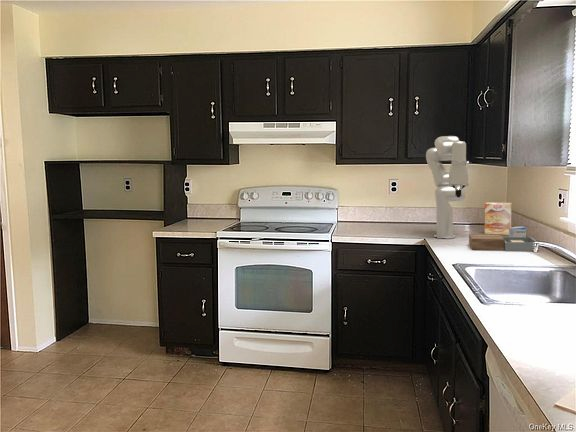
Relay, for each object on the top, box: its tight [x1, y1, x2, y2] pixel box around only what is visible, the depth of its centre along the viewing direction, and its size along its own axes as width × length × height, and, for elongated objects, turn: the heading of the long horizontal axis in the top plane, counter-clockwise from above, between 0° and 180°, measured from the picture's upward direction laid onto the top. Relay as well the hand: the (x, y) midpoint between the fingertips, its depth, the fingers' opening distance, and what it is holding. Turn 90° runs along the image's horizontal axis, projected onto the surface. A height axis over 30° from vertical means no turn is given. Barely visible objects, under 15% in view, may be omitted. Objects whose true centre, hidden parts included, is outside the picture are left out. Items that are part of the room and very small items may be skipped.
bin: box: [502, 236, 540, 253], centre depth 264 cm, size 18×16×4 cm
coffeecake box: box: [484, 202, 513, 236], centre depth 312 cm, size 15×7×20 cm, turn 62°
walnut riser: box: [468, 233, 505, 252], centre depth 268 cm, size 16×16×6 cm
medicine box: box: [508, 226, 527, 237], centre depth 281 cm, size 8×4×9 cm, turn 105°
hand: (458, 197), depth 275 cm, fingers closed
